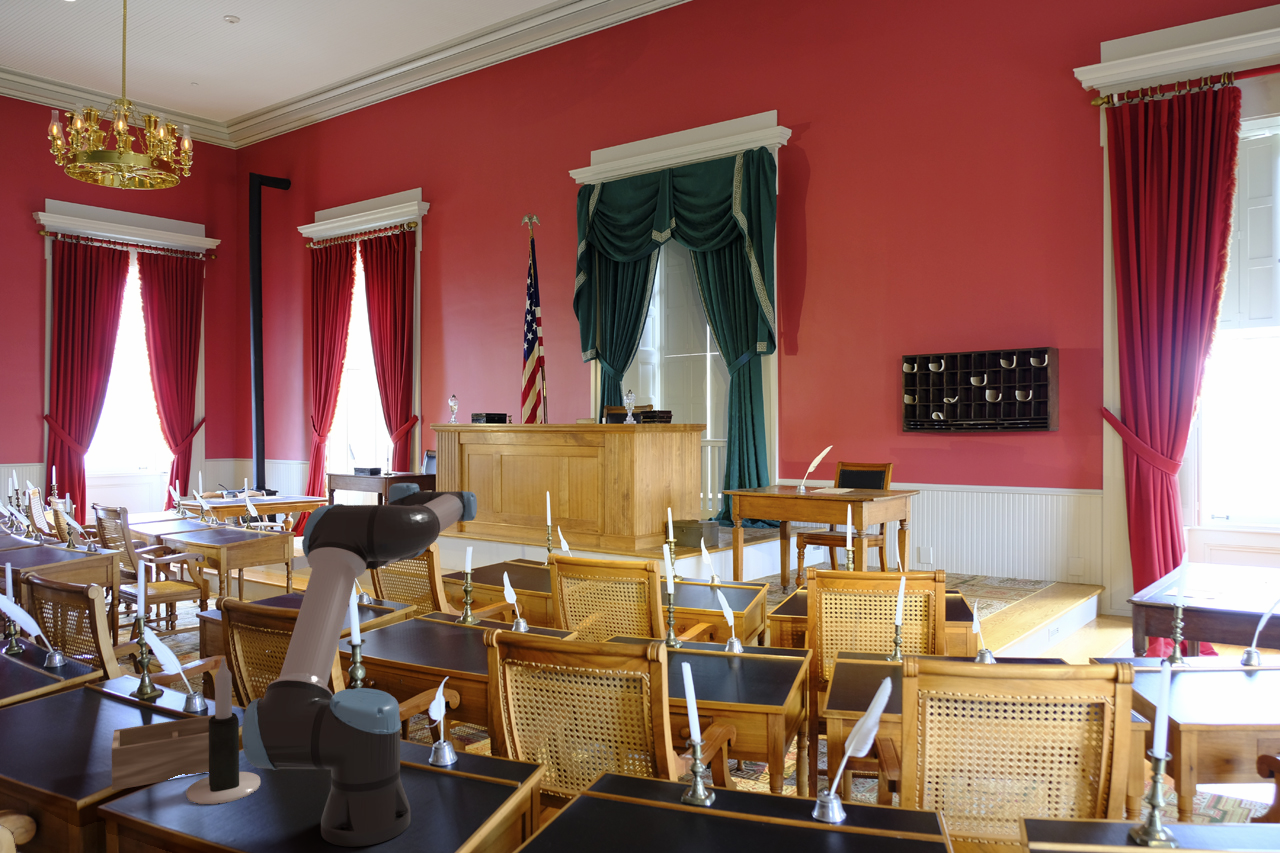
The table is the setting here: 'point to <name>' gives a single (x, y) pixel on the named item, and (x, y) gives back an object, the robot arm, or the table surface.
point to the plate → (203, 795)
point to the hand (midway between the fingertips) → (315, 566)
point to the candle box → (159, 752)
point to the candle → (223, 735)
